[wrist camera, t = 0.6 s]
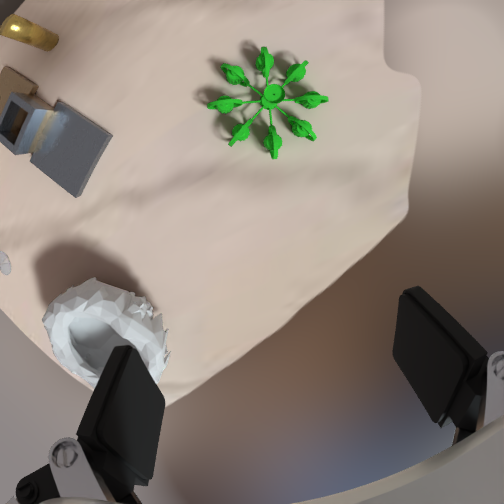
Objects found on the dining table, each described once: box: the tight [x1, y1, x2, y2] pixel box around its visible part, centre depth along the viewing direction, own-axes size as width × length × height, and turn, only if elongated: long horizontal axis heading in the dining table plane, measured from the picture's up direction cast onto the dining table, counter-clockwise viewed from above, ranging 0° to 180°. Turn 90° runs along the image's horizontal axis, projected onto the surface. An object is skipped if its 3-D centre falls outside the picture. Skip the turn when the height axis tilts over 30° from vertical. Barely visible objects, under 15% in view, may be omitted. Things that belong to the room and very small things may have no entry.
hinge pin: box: [0, 14, 59, 51], centre depth 19 cm, size 3×3×12 cm
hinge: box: [0, 67, 113, 198], centre depth 27 cm, size 10×29×6 cm, turn 52°
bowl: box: [42, 277, 171, 388], centre depth 38 cm, size 21×20×10 cm
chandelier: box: [207, 47, 328, 159], centre depth 29 cm, size 15×15×7 cm
